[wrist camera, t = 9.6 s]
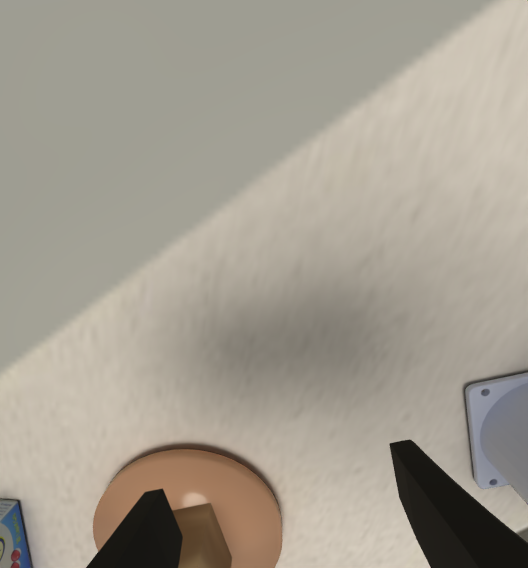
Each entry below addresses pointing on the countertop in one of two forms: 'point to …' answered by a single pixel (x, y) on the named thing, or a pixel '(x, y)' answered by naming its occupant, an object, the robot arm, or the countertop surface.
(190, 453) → the peach round disc
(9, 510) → the medicine box
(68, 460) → the countertop surface
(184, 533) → the oak block
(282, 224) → the countertop surface
